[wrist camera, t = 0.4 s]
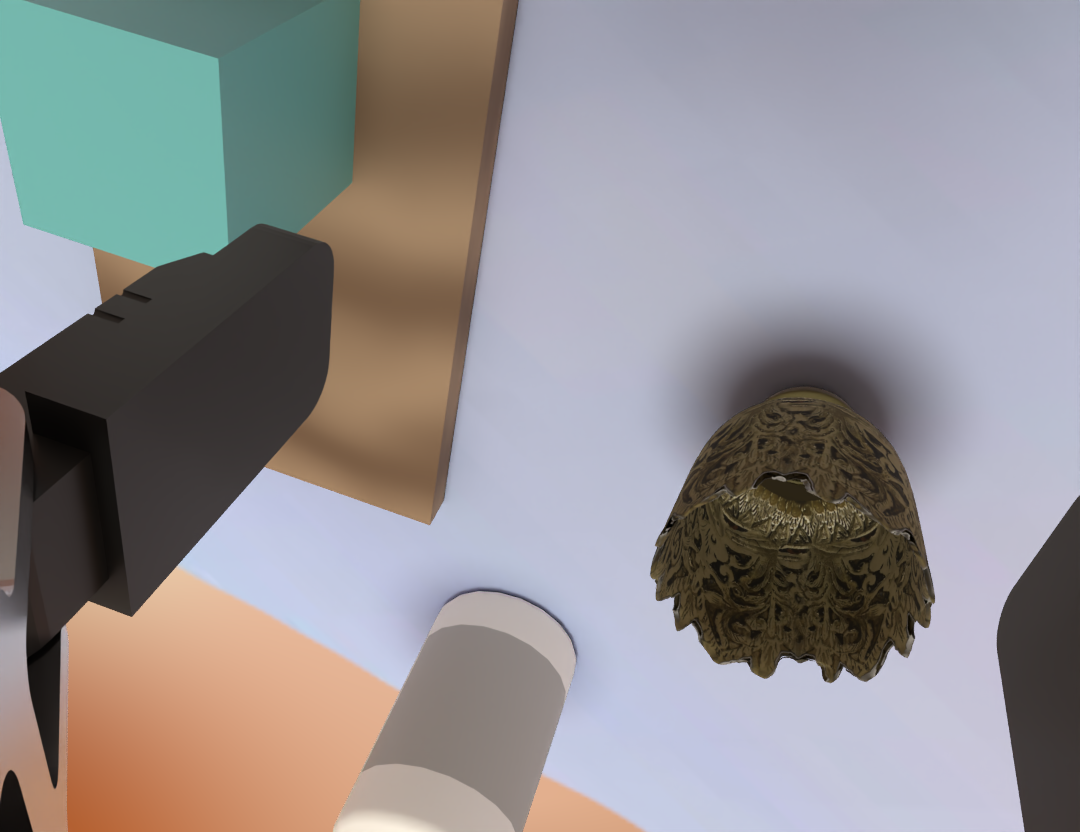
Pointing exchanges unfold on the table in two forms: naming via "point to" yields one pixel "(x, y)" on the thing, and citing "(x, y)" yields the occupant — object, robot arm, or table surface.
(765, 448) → the bronze textured bowl
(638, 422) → the table surface
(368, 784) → the spray bottle
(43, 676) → the robot arm
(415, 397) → the board
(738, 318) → the table surface
